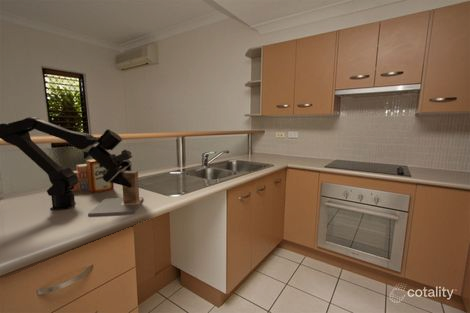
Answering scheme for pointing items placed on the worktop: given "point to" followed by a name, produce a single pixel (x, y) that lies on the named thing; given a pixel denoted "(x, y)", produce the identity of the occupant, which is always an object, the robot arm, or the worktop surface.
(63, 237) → the worktop surface
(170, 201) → the worktop surface
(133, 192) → the walnut post
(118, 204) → the baseplate
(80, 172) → the orange red carton
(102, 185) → the baking soda box
